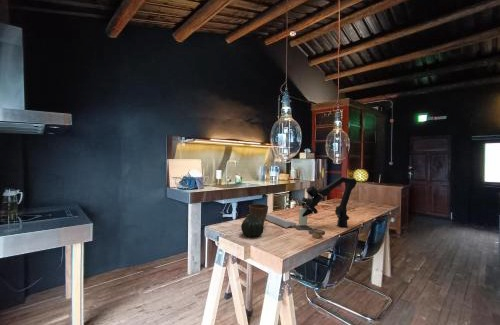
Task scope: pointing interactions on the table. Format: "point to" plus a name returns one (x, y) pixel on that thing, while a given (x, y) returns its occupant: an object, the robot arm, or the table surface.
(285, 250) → the table surface
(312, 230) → the offcut rack
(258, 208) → the plant pot
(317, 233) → the walnut offcut stack
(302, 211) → the sage plank
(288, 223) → the decorative molding
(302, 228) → the rubber mat
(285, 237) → the table surface
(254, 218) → the squash
